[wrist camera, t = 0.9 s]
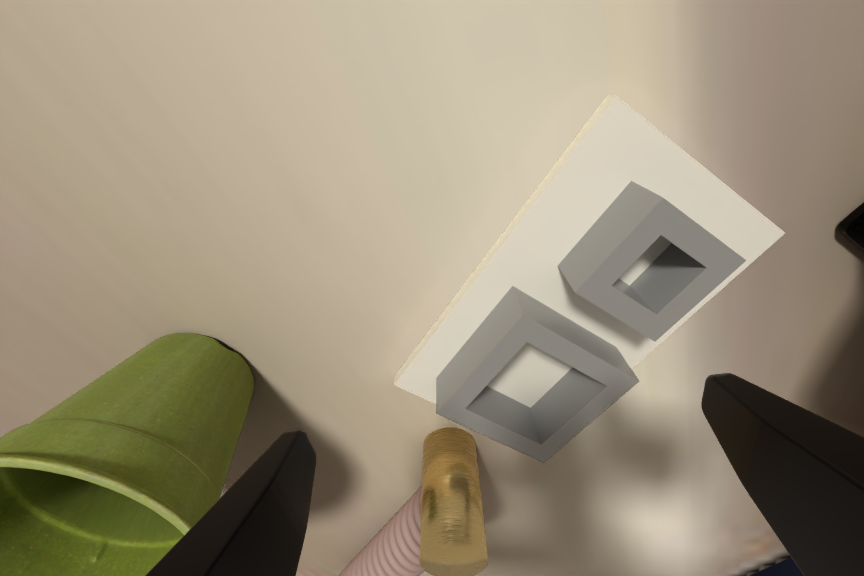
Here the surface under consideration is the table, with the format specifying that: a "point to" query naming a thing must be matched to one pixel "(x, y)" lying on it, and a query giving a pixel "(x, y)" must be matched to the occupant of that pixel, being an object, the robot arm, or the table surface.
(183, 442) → the plant pot
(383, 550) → the coil
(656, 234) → the fitting board
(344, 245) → the table surface
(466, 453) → the cylinder
